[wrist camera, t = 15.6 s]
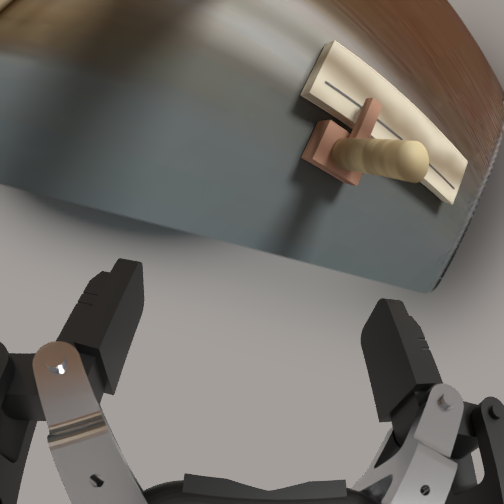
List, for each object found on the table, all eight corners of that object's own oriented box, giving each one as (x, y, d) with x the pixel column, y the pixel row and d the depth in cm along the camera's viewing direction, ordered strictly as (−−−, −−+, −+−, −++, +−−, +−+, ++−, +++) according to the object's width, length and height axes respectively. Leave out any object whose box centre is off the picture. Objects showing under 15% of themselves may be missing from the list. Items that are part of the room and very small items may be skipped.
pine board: (325, 44, 28) (334, 40, 26) (457, 160, 38) (468, 161, 36) (300, 95, 29) (309, 92, 27) (442, 201, 40) (453, 204, 38)
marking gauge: (332, 89, 30) (416, 73, 19) (372, 118, 32) (457, 117, 21) (300, 157, 31) (379, 167, 20) (344, 183, 34) (426, 204, 22)
